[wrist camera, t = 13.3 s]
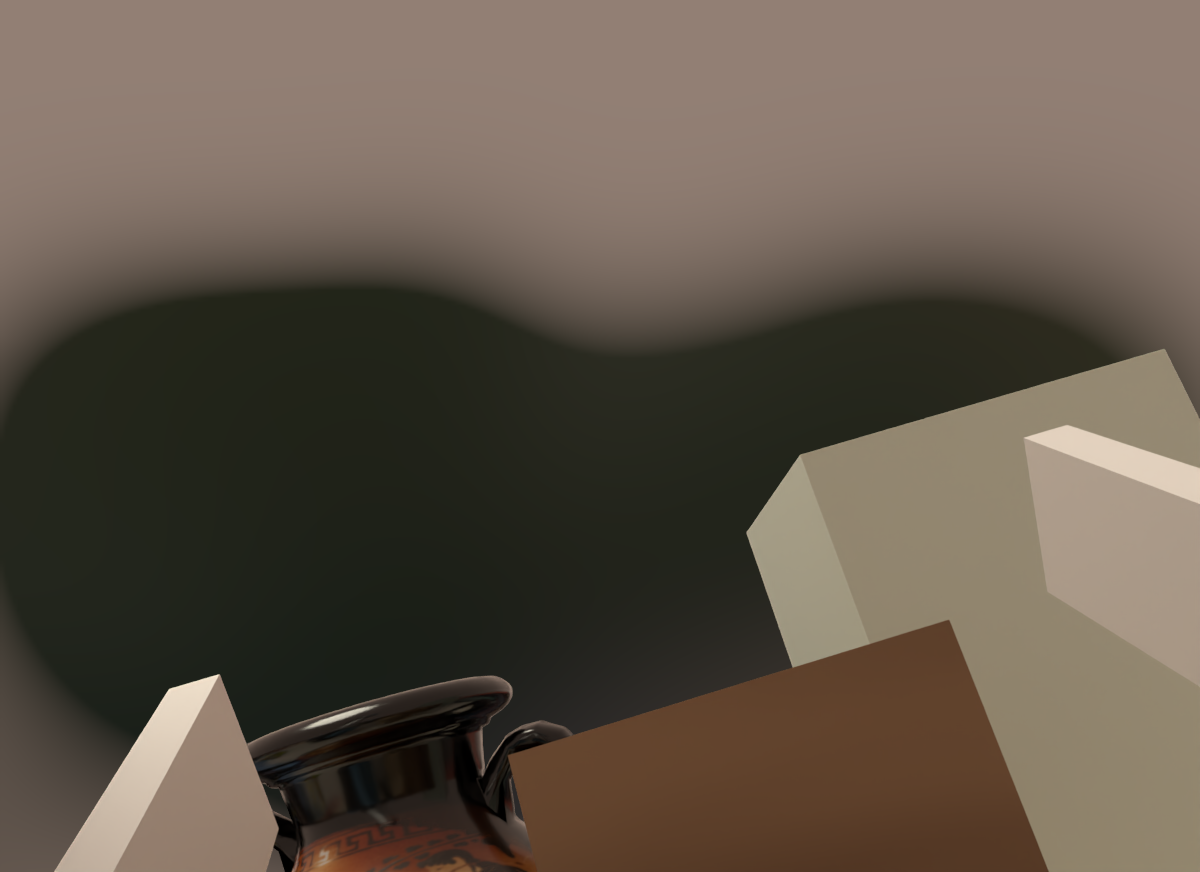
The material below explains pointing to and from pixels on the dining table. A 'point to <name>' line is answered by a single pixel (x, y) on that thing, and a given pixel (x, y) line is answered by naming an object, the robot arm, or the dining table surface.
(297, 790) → the amphora vase
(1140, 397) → the beige tall block
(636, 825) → the beam
